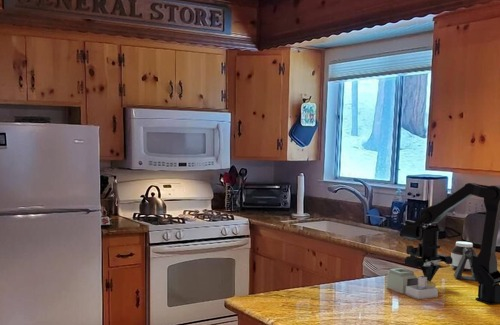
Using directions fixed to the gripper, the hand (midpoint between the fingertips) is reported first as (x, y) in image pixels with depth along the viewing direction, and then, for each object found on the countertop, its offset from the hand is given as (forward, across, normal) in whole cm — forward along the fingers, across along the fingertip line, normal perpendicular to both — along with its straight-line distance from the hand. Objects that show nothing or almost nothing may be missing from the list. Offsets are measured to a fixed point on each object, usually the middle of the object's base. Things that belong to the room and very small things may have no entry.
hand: (427, 283), depth 188 cm
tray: (+1, +12, +8) cm, 14 cm away
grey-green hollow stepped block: (+1, +12, 0) cm, 12 cm away
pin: (+1, +12, +8) cm, 14 cm away
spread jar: (+2, -39, -19) cm, 43 cm away
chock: (+2, +4, +2) cm, 5 cm away
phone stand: (+2, -26, -4) cm, 26 cm away
